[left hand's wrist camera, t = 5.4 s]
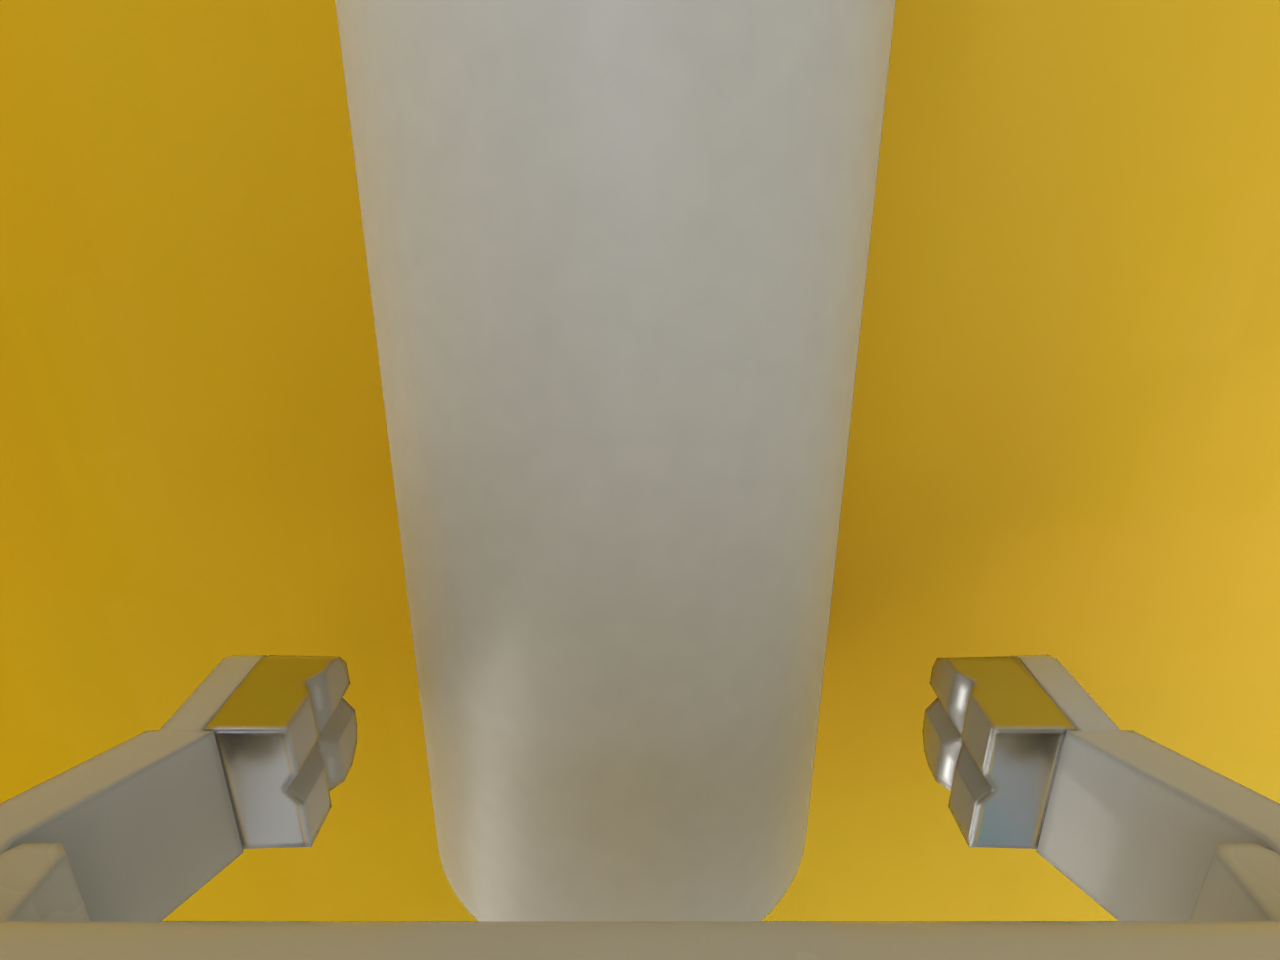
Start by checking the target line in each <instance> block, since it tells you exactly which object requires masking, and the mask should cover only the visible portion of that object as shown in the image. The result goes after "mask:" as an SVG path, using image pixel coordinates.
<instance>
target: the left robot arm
mask: <svg viewBox="0 0 1280 960" xmlns="http://www.w3.org/2000/svg"><path fill="white" fill-rule="evenodd" d="M349 685H350V679H349V674H348V669H347V665H346V662H345V661H344V660H343V659H342V658H341V657H330V656H283V655H269V656H266V655H233V656H229V657H226V658H224V659H223V660H222V661H221V662H220V663H219V664H218V665H217V666H216V667H215V669H214V670H213V671H212V672H211V673H210V674H209V675H208V676H207V678H206V679H205V680H204V681H203V682H202V683H201V684H200V685H199V687H198V688H197V689H196V690H195V691H194V692H193V693H192V694H191V696H190V697H189V698H188V699H187V700H186V701H185V702H184V703H183V704H182V706H181V707H180V708H179V709H178V710H177V711H176V712H175V713H174V715H173V716H172V717H171V718H170V719H169V720H168V721H167V722H166V724H165V725H164V726H163V727H162V728H161V729H160V730H159V731H146V732H144V733H142V734H140V735H138V736H136V737H134V738H132V739H130V740H127V741H125V742H123V743H121V744H119V745H117V746H115V747H113V748H111V749H109V750H107V751H105V752H103V753H101V754H99V755H97V756H95V757H93V758H91V759H89V760H87V761H85V762H83V763H81V764H79V765H77V766H75V767H73V768H71V769H69V770H67V771H65V772H63V773H61V774H59V775H57V776H55V777H53V778H51V779H49V780H47V781H45V782H43V783H41V784H39V785H37V786H35V787H33V788H31V789H29V790H27V791H25V792H23V793H21V794H19V795H17V796H15V797H13V798H11V799H9V800H7V801H5V802H3V803H1V804H0V960H1280V804H1279V803H1277V802H1275V801H1273V800H1271V799H1269V798H1267V797H1265V796H1263V795H1261V794H1259V793H1257V792H1255V791H1253V790H1251V789H1249V788H1247V787H1245V786H1243V785H1241V784H1239V783H1237V782H1235V781H1233V780H1231V779H1229V778H1227V777H1225V776H1223V775H1221V774H1219V773H1217V772H1215V771H1213V770H1211V769H1209V768H1207V767H1205V766H1203V765H1201V764H1199V763H1197V762H1195V761H1193V760H1191V759H1189V758H1187V757H1185V756H1183V755H1181V754H1179V753H1177V752H1175V751H1173V750H1171V749H1169V748H1167V747H1164V746H1162V745H1160V744H1158V743H1156V742H1154V741H1152V740H1150V739H1148V738H1146V737H1144V736H1142V735H1140V734H1138V733H1136V732H1134V731H1121V730H1120V729H1119V728H1118V727H1117V726H1116V725H1115V724H1114V722H1113V721H1112V720H1111V719H1110V718H1109V717H1108V716H1107V715H1106V713H1105V712H1104V711H1103V710H1102V709H1101V708H1100V707H1099V706H1098V704H1097V703H1096V702H1095V701H1094V700H1093V699H1092V698H1091V697H1090V696H1089V694H1088V693H1087V692H1086V691H1085V690H1084V689H1083V688H1082V687H1081V685H1080V684H1079V683H1078V682H1077V681H1076V680H1075V679H1074V678H1073V676H1072V675H1071V674H1070V673H1069V672H1068V671H1067V670H1066V669H1065V667H1064V666H1063V665H1062V664H1061V663H1060V662H1059V661H1058V660H1057V659H1056V658H1054V657H1052V656H1050V655H1020V656H1010V657H950V658H937V659H936V661H935V663H934V666H933V668H932V673H931V679H930V685H931V686H932V688H933V690H934V692H935V693H936V695H937V697H938V698H937V699H936V700H935V701H934V702H933V703H932V704H931V705H930V706H929V707H928V708H927V709H926V710H925V716H924V724H923V741H924V751H925V755H926V758H927V762H928V765H929V768H930V770H931V772H932V774H933V776H934V778H935V780H936V781H937V782H938V783H940V784H941V785H943V786H944V787H945V788H947V789H948V790H950V791H951V794H950V799H949V805H948V807H949V809H950V811H951V813H952V814H953V816H954V818H955V820H956V822H957V824H958V826H959V828H960V830H961V832H962V834H963V836H964V838H965V840H966V842H967V844H968V846H969V847H996V848H1032V849H1037V853H1039V854H1040V855H1041V856H1042V857H1043V858H1044V859H1046V860H1047V861H1048V862H1049V863H1050V864H1052V865H1053V866H1054V867H1055V868H1056V869H1058V870H1059V871H1060V872H1061V873H1062V874H1064V875H1065V876H1066V877H1067V878H1068V879H1070V880H1071V881H1072V882H1073V883H1074V884H1076V885H1077V886H1078V887H1079V888H1080V889H1081V890H1083V891H1084V892H1085V893H1086V894H1087V895H1089V896H1090V897H1091V898H1092V899H1093V900H1095V901H1096V902H1097V903H1098V904H1099V905H1101V906H1102V907H1103V908H1104V909H1105V910H1107V911H1108V912H1109V913H1110V914H1111V915H1112V916H1114V917H1115V918H1116V919H1117V920H1118V921H162V920H163V919H164V918H165V917H167V916H168V915H169V914H170V913H171V912H173V911H174V910H175V909H176V908H177V907H178V906H180V905H181V904H182V903H183V902H184V901H186V900H187V899H188V898H189V897H190V896H192V895H193V894H194V893H195V892H196V891H198V890H199V889H200V888H201V887H202V886H204V885H205V884H206V883H207V882H208V881H210V880H211V879H212V878H213V877H214V876H216V875H217V874H218V873H219V872H220V871H222V870H223V869H224V868H225V867H226V866H228V865H229V864H230V863H231V862H232V861H233V860H235V859H236V858H237V857H238V856H239V855H241V854H242V853H243V849H248V848H283V847H311V846H312V844H313V842H314V840H315V838H316V836H317V834H318V832H319V830H320V828H321V826H322V824H323V822H324V820H325V818H326V817H327V815H328V813H329V811H330V809H331V807H332V805H331V799H330V794H329V791H330V790H332V789H333V788H335V787H336V786H337V785H339V784H340V783H342V782H343V781H344V780H345V778H346V776H347V774H348V772H349V770H350V768H351V766H352V763H353V758H354V753H355V749H356V744H357V722H356V715H355V710H354V709H353V708H352V707H351V706H350V705H349V704H348V703H347V702H346V701H345V700H344V699H343V698H342V697H343V695H344V693H345V692H346V690H347V688H348V686H349Z"/></svg>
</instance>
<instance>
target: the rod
mask: <svg viewBox="0 0 1280 960" xmlns="http://www.w3.org/2000/svg"><path fill="white" fill-rule="evenodd" d="M335 3H336V11H337V19H338V27H339V36H340V44H341V52H342V60H343V69H344V77H345V85H346V93H347V101H348V110H349V118H350V126H351V134H352V143H353V151H354V159H355V167H356V176H357V184H358V192H359V200H360V209H361V217H362V225H363V233H364V242H365V250H366V258H367V266H368V275H369V283H370V291H371V299H372V308H373V316H374V324H375V332H376V341H377V349H378V357H379V365H380V373H381V382H382V390H383V398H384V406H385V415H386V423H387V431H388V439H389V448H390V456H391V464H392V472H393V481H394V489H395V497H396V505H397V514H398V522H399V530H400V538H401V547H402V555H403V563H404V571H405V580H406V588H407V596H408V604H409V613H410V621H411V629H412V637H413V645H414V654H415V662H416V670H417V678H418V687H419V695H420V703H421V711H422V720H423V728H424V736H425V744H426V753H427V761H428V769H429V777H430V786H431V794H432V802H433V810H434V819H435V827H436V835H437V843H438V851H439V857H440V860H441V863H442V866H443V870H444V873H445V876H446V877H447V879H448V881H449V883H450V885H451V887H452V889H453V891H454V893H455V894H456V896H457V897H458V898H459V900H460V901H461V902H462V904H463V905H464V906H465V908H466V909H467V910H468V911H469V913H470V914H471V915H472V916H473V917H474V918H475V919H477V920H478V921H761V920H762V919H763V918H764V917H765V916H767V915H768V914H769V913H770V912H771V910H772V909H773V908H774V907H775V905H776V904H777V903H778V902H779V900H780V899H781V898H782V897H783V895H784V894H785V893H786V891H787V889H788V888H789V886H790V884H791V882H792V880H793V878H794V877H795V875H796V873H797V870H798V867H799V864H800V861H801V858H802V855H803V851H804V845H805V838H806V831H807V822H808V813H809V803H810V794H811V785H812V775H813V766H814V757H815V747H816V738H817V729H818V720H819V710H820V701H821V692H822V682H823V673H824V664H825V654H826V645H827V636H828V627H829V617H830V608H831V599H832V589H833V580H834V571H835V561H836V552H837V543H838V533H839V524H840V515H841V506H842V496H843V487H844V478H845V468H846V459H847V450H848V440H849V431H850V422H851V413H852V403H853V394H854V385H855V375H856V366H857V357H858V347H859V338H860V329H861V320H862V310H863V301H864V292H865V282H866V273H867V264H868V254H869V245H870V236H871V226H872V217H873V208H874V199H875V189H876V180H877V171H878V161H879V152H880V143H881V133H882V124H883V115H884V106H885V96H886V87H887V78H888V68H889V59H890V50H891V40H892V31H893V22H894V12H895V3H896V0H335Z"/></svg>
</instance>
